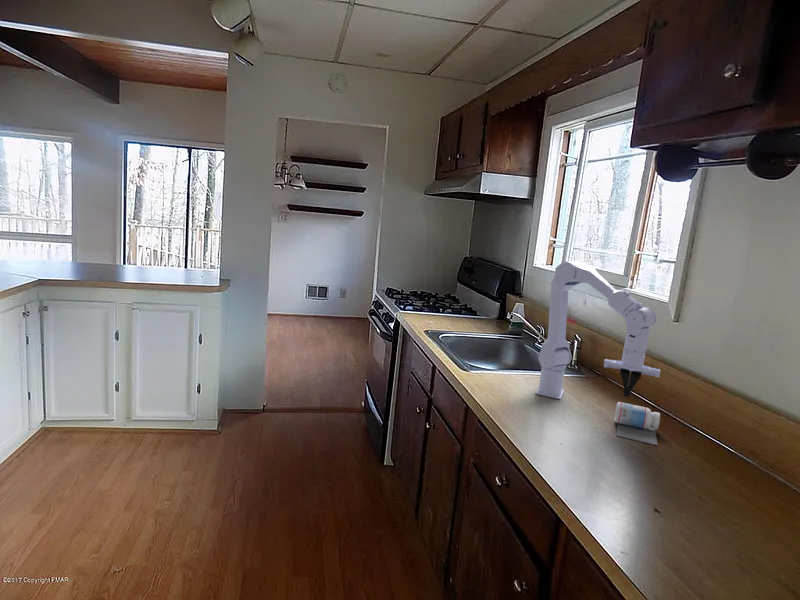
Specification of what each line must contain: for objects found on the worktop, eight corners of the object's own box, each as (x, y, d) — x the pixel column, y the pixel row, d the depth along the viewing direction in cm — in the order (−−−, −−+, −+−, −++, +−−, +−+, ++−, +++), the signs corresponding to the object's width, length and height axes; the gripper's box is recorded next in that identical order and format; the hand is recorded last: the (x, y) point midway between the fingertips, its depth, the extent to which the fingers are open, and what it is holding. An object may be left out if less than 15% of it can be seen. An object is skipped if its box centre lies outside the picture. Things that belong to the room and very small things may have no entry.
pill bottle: (613, 425, 149) (655, 435, 145) (616, 415, 144) (660, 425, 140) (615, 408, 152) (656, 417, 148) (618, 397, 148) (661, 406, 144)
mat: (617, 411, 158) (618, 410, 157) (653, 419, 154) (653, 418, 154) (617, 436, 139) (617, 435, 139) (657, 445, 136) (657, 444, 136)
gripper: (606, 348, 143) (598, 393, 146) (664, 358, 138) (654, 405, 140) (607, 342, 149) (599, 386, 152) (662, 352, 144) (653, 398, 147)
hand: (626, 395), depth 146 cm, fingers closed
